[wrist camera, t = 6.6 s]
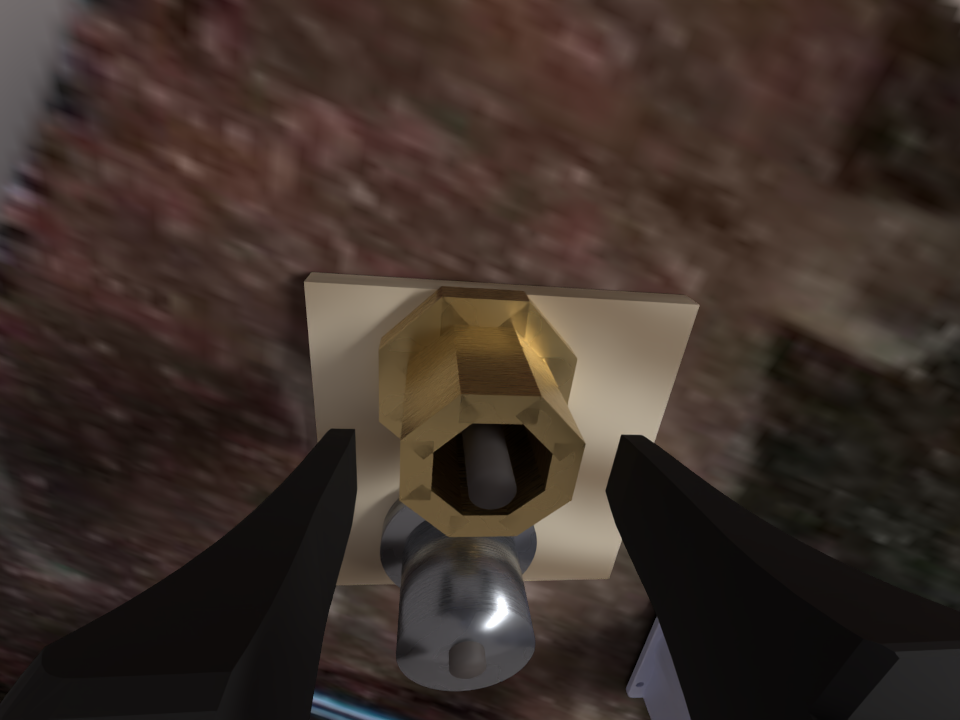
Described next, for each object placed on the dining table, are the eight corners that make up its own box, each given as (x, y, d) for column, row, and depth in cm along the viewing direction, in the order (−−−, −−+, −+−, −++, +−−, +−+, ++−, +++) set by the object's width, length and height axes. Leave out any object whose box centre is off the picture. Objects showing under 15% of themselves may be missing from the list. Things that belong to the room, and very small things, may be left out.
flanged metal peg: (521, 580, 21) (545, 699, 17) (382, 583, 20) (369, 709, 16) (542, 474, 18) (578, 585, 14) (381, 473, 18) (365, 591, 13)
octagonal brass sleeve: (548, 449, 18) (587, 557, 13) (381, 447, 17) (364, 561, 13) (579, 294, 15) (642, 366, 11) (381, 282, 14) (358, 354, 10)
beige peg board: (602, 560, 23) (659, 708, 17) (334, 566, 21) (297, 732, 15) (685, 294, 16) (822, 387, 11) (311, 272, 15) (236, 367, 9)
